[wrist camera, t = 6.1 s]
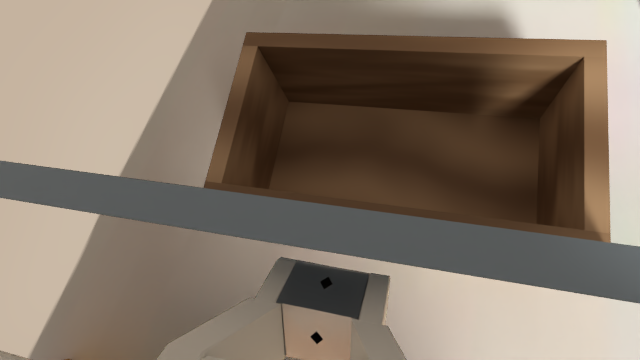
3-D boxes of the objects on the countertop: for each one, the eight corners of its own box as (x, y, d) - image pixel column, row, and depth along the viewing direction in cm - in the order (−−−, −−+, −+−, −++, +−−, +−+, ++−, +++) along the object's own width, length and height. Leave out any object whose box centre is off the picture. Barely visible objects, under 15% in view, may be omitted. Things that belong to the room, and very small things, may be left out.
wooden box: (547, 272, 24) (610, 256, 17) (252, 225, 29) (200, 198, 22) (551, 113, 27) (606, 40, 20) (283, 95, 32) (246, 32, 25)
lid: (614, 255, 17) (612, 279, 16) (198, 196, 22) (194, 214, 21) (968, 290, 6) (971, 358, 6) (-11, 159, 11) (-20, 194, 11)
